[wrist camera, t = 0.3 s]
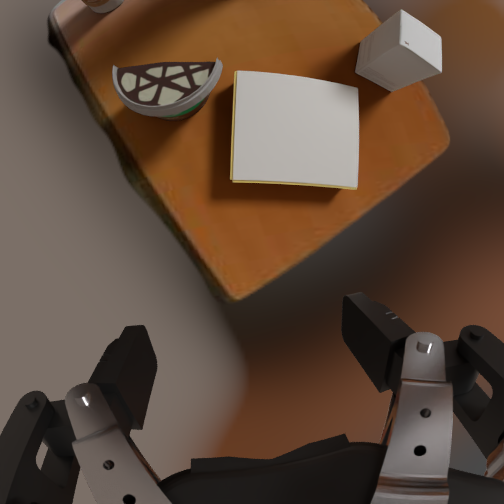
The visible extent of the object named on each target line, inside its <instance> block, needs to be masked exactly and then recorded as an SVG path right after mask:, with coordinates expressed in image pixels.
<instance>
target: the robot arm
mask: <svg viewBox="0 0 504 504" xmlns="http://www.w3.org/2000/svg"><path fill="white" fill-rule="evenodd" d="M341 331H342V336H343V340H344V342H345V343H346V345H347V346H348V348H349V349H350V351H351V352H352V353H353V355H354V356H355V358H356V359H357V361H358V362H359V363H360V365H361V366H362V368H363V369H364V371H365V372H366V374H367V375H368V377H369V378H370V379H371V381H372V382H373V384H374V385H375V387H376V388H377V390H378V391H379V392H380V393H381V392H384V391H386V390H389V389H391V390H392V392H393V394H392V397H391V401H390V405H389V410H388V413H387V417H386V421H385V425H384V429H383V432H382V436H381V439H380V441H379V444H377V443H371V442H370V443H369V442H349V441H348V439H347V437H346V435H345V434H342V435H339V436H335V437H331V438H328V439H325V440H321V441H317V442H313V443H309V444H307V445H305V446H302V447H300V448H298V449H296V450H293V451H291V452H288V453H286V454H284V455H282V456H279V457H276V458H273V459H249V458H238V457H217V458H198V459H191V469H187V470H184V471H181V472H178V473H175V474H173V475H171V476H169V477H167V478H165V479H163V480H161V479H160V478H159V477H158V475H157V474H156V473H155V472H154V470H153V469H152V468H151V466H150V465H149V464H148V462H147V461H146V459H145V458H144V456H143V455H142V454H141V452H140V450H139V449H138V447H137V446H136V445H135V443H134V442H133V440H132V438H131V437H130V436H129V435H130V431H131V429H137V430H142V429H143V424H144V420H145V416H146V411H147V407H148V403H149V399H150V395H151V391H152V387H153V384H154V379H155V376H156V372H157V359H156V355H155V353H154V350H153V347H152V344H151V341H150V338H149V336H148V332H147V330H146V328H145V326H144V325H137V326H126V327H125V328H124V330H123V332H122V334H121V335H120V337H119V339H115V340H114V341H113V342H112V343H111V344H109V345H108V347H107V348H106V350H105V352H104V354H103V356H102V357H101V359H100V362H99V363H98V364H97V366H96V368H95V370H94V372H93V374H92V376H91V377H90V379H89V381H88V383H83V384H79V385H77V386H75V387H73V388H72V389H71V390H70V391H69V392H68V393H67V395H66V397H65V400H60V401H53V402H50V401H49V400H48V399H47V397H46V395H45V394H44V393H43V392H41V391H32V392H29V393H27V394H26V395H24V396H23V397H22V398H21V399H20V401H19V402H18V404H17V406H16V407H15V409H14V411H13V413H12V414H11V416H10V418H9V420H8V422H7V424H6V426H5V427H4V429H3V431H2V433H1V435H0V504H72V503H73V498H74V493H75V488H76V484H77V479H78V475H79V471H80V467H81V470H82V472H83V475H84V477H85V479H86V481H87V484H88V486H89V488H90V490H91V492H92V494H93V496H94V498H95V500H96V502H97V504H504V343H503V342H502V341H500V340H499V339H498V338H497V337H496V336H494V335H493V334H492V333H491V332H489V331H488V330H487V329H485V328H483V327H481V326H476V325H469V326H466V327H464V328H463V329H462V330H461V332H460V335H459V338H458V340H453V341H446V342H443V341H442V340H441V339H440V338H439V337H438V336H436V335H435V334H432V333H428V332H417V333H416V332H415V331H413V330H412V329H411V328H410V327H409V326H408V325H407V324H406V323H404V322H403V321H402V320H401V319H400V318H398V316H397V315H395V314H394V313H392V311H391V310H390V309H389V308H388V307H386V306H385V305H383V304H381V303H378V302H376V301H371V300H370V299H369V298H368V297H367V296H366V295H365V294H364V293H362V292H360V293H355V294H350V295H345V296H344V297H343V302H342V326H341ZM479 373H480V374H481V375H482V376H483V377H484V378H485V379H486V380H487V381H488V382H489V383H490V385H491V386H492V389H493V395H492V398H491V399H490V398H489V397H488V396H487V394H486V393H485V392H484V391H483V390H482V389H481V388H480V387H479V386H478V384H477V383H476V382H475V381H476V379H477V377H478V375H479ZM453 412H454V414H455V415H456V416H457V417H458V419H459V420H460V422H461V423H462V424H463V426H464V427H465V429H466V430H467V431H468V433H469V434H470V436H471V437H472V439H473V440H474V441H475V443H476V444H477V446H478V447H479V449H480V450H481V452H482V453H483V455H484V456H485V458H486V459H487V464H486V467H487V470H486V472H485V474H484V476H481V475H476V474H472V473H468V472H464V471H459V470H456V469H453V468H449V460H450V451H451V440H452V422H453ZM41 442H43V443H44V444H45V445H46V446H47V447H48V451H47V453H46V456H45V459H44V462H43V465H42V468H41V470H40V469H39V468H38V466H37V464H36V455H37V452H38V450H39V447H40V445H41Z"/></svg>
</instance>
